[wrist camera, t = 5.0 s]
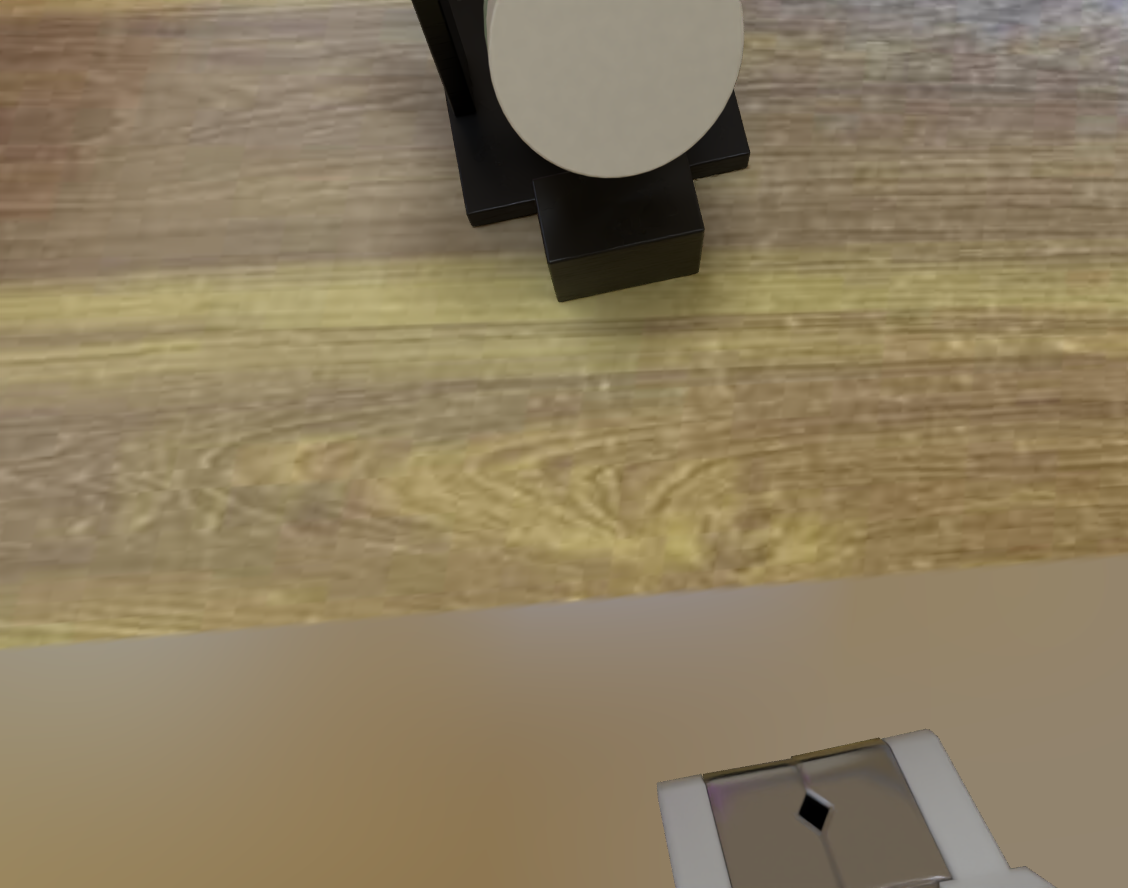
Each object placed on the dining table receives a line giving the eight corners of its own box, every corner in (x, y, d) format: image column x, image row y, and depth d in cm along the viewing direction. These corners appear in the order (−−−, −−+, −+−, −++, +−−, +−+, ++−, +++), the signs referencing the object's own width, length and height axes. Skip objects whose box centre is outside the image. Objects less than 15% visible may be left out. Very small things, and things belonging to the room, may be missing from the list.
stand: (770, 258, 31) (812, 131, 23) (488, 318, 31) (435, 214, 24) (686, -68, 34) (698, -277, 26) (429, -9, 34) (365, -197, 27)
